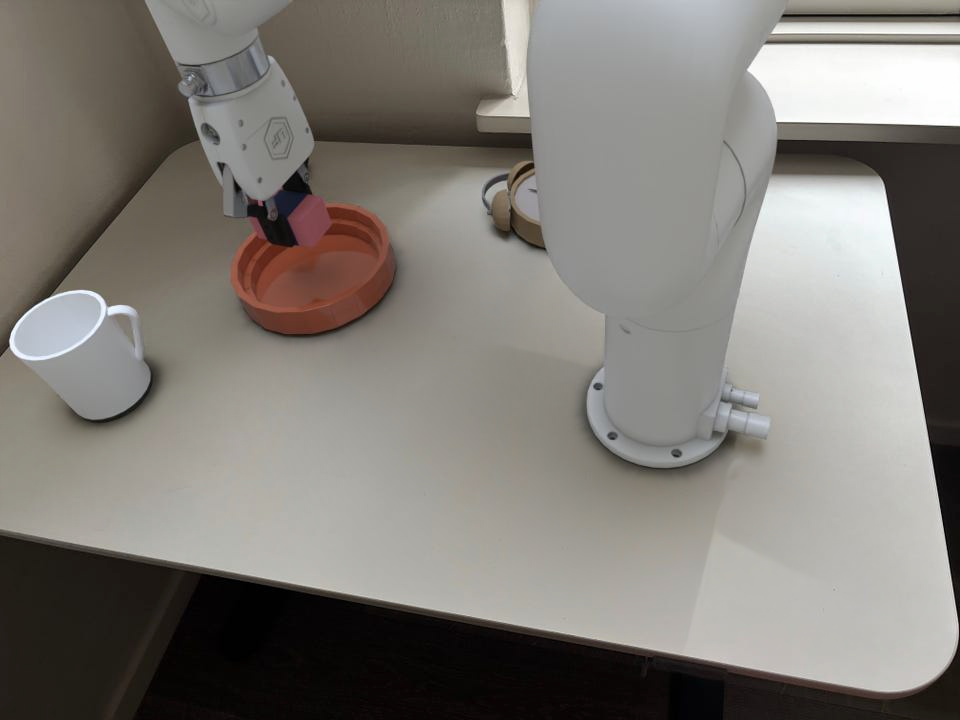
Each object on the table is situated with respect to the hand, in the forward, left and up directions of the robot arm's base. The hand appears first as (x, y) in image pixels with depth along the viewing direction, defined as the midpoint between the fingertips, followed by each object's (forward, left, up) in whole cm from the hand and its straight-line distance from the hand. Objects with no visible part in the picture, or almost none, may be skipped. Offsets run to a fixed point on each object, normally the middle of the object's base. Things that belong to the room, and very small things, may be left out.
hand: (294, 227), depth 76 cm
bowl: (-1, 0, -8) cm, 8 cm away
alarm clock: (-22, -17, -8) cm, 29 cm away
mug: (+11, +20, -8) cm, 24 cm away
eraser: (0, 0, 0) cm, 0 cm away
